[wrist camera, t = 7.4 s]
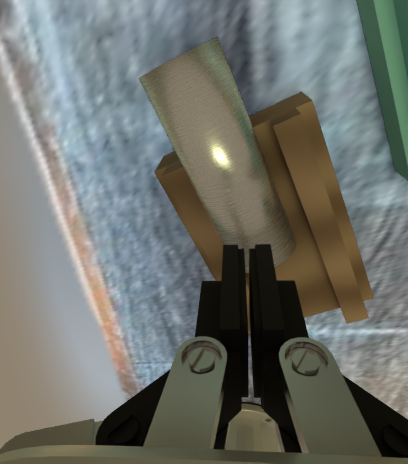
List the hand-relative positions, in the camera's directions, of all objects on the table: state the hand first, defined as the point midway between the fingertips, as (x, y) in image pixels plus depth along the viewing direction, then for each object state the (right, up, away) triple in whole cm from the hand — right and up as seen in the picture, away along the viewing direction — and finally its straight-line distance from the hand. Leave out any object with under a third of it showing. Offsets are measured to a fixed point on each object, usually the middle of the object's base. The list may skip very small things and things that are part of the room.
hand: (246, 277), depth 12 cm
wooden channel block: (+4, +3, +19) cm, 19 cm away
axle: (0, +7, +12) cm, 14 cm away
